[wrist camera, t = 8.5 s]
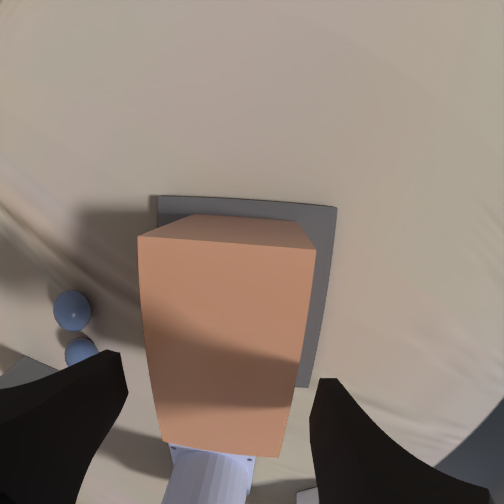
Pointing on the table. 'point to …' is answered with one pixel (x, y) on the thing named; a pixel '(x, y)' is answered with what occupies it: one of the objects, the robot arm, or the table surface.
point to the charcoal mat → (307, 215)
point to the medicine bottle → (308, 496)
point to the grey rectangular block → (25, 373)
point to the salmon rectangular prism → (225, 328)
